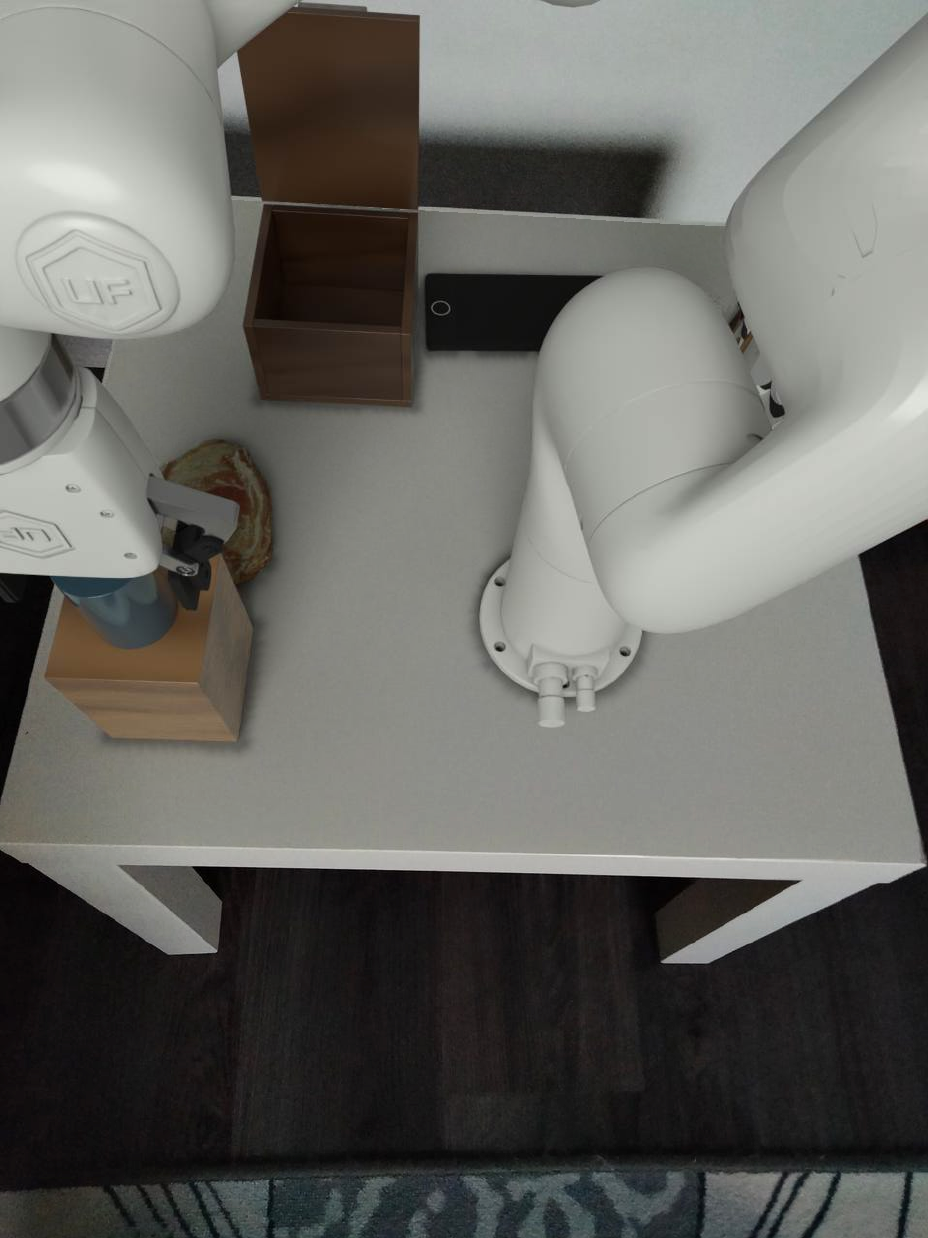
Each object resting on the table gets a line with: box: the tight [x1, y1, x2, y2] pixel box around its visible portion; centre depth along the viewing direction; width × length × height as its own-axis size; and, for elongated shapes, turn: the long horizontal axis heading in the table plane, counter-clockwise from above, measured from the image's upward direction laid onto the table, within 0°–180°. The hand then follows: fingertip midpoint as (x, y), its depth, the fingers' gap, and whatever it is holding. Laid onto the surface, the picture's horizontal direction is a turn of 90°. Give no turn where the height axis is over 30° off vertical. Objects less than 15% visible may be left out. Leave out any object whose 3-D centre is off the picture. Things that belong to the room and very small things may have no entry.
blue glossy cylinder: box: [48, 567, 177, 649], centre depth 48 cm, size 5×5×7 cm
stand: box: [44, 553, 254, 743], centre depth 57 cm, size 9×9×12 cm
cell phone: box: [424, 272, 604, 352], centre depth 78 cm, size 9×18×1 cm, turn 92°
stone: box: [159, 438, 274, 586], centre depth 66 cm, size 13×10×3 cm
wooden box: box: [242, 203, 420, 408], centre depth 72 cm, size 14×13×9 cm
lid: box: [236, 1, 421, 211], centre depth 65 cm, size 14×13×5 cm
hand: (108, 583), depth 48 cm, fingers open, 9 cm apart
